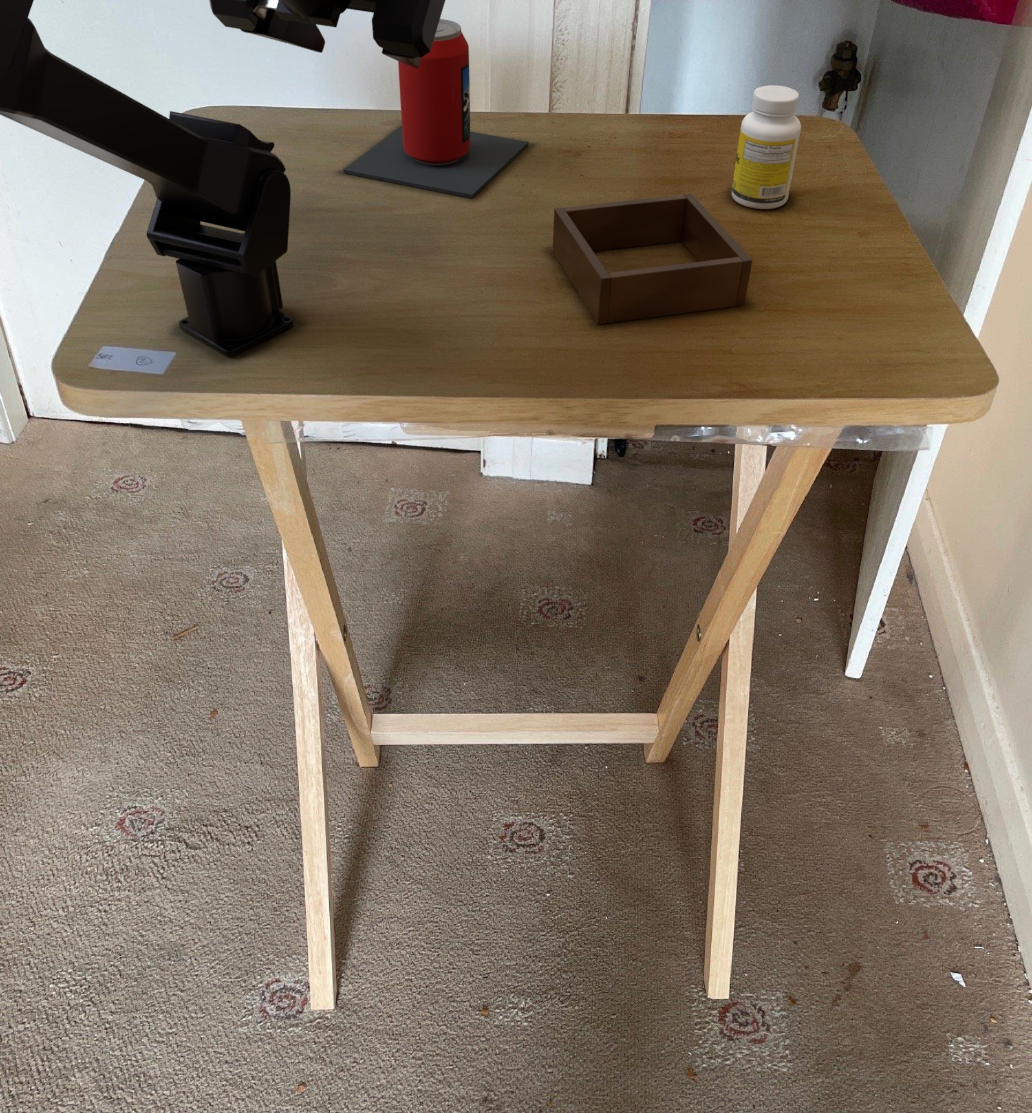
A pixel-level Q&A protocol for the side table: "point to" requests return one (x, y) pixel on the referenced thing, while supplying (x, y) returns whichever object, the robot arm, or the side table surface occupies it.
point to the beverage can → (437, 99)
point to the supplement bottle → (767, 149)
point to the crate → (654, 288)
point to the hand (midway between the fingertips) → (369, 54)
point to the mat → (450, 178)
